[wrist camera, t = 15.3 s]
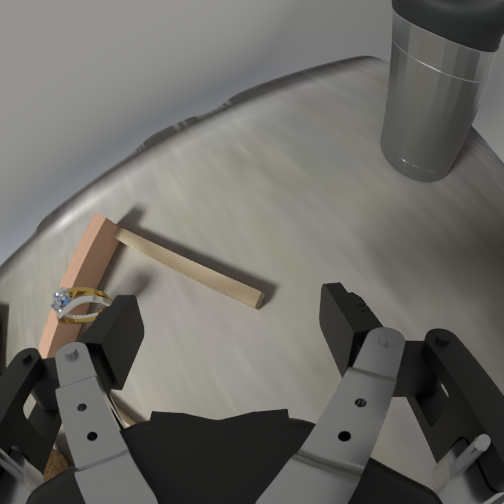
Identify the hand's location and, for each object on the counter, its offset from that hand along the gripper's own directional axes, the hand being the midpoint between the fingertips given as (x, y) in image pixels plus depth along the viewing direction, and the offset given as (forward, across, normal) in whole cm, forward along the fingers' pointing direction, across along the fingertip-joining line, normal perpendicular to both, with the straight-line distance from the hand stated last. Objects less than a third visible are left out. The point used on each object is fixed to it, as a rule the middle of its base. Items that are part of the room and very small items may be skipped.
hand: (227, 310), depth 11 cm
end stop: (+18, +20, +9) cm, 28 cm away
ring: (+16, +16, +10) cm, 25 cm away
